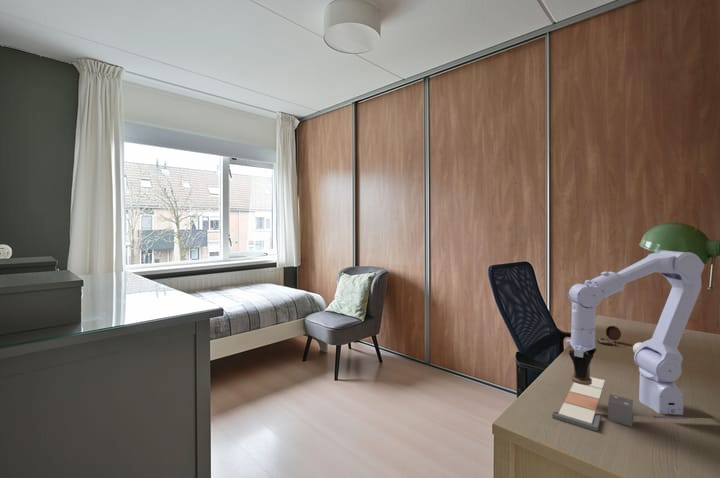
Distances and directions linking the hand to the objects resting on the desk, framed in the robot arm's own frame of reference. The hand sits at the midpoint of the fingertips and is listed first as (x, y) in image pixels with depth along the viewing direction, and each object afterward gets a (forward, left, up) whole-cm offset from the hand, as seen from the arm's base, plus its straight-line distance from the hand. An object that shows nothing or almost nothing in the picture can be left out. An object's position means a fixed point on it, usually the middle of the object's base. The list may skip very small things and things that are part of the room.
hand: (582, 374), depth 99 cm
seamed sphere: (+40, -42, -9) cm, 58 cm away
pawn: (0, 0, -2) cm, 2 cm away
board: (+3, -2, -9) cm, 10 cm away
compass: (+54, -40, -9) cm, 68 cm away
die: (-7, -6, -9) cm, 13 cm away
